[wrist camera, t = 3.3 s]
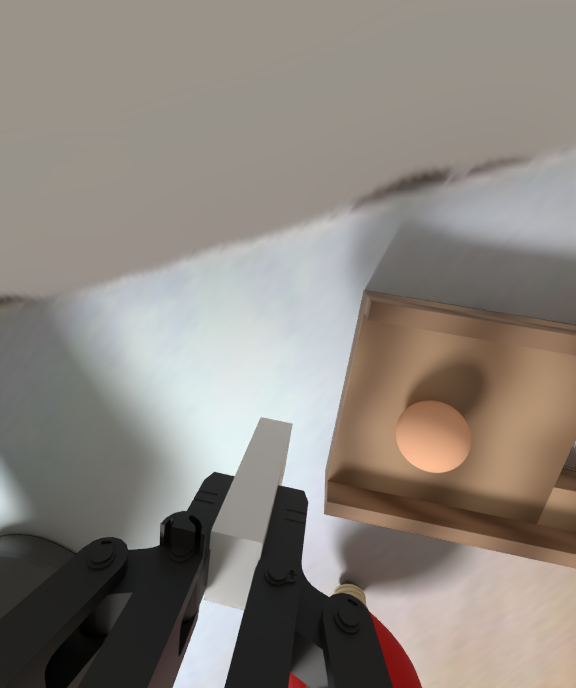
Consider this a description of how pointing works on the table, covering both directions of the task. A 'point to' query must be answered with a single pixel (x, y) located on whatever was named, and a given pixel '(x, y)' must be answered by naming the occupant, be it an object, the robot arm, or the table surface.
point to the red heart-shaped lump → (394, 654)
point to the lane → (481, 416)
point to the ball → (433, 436)
